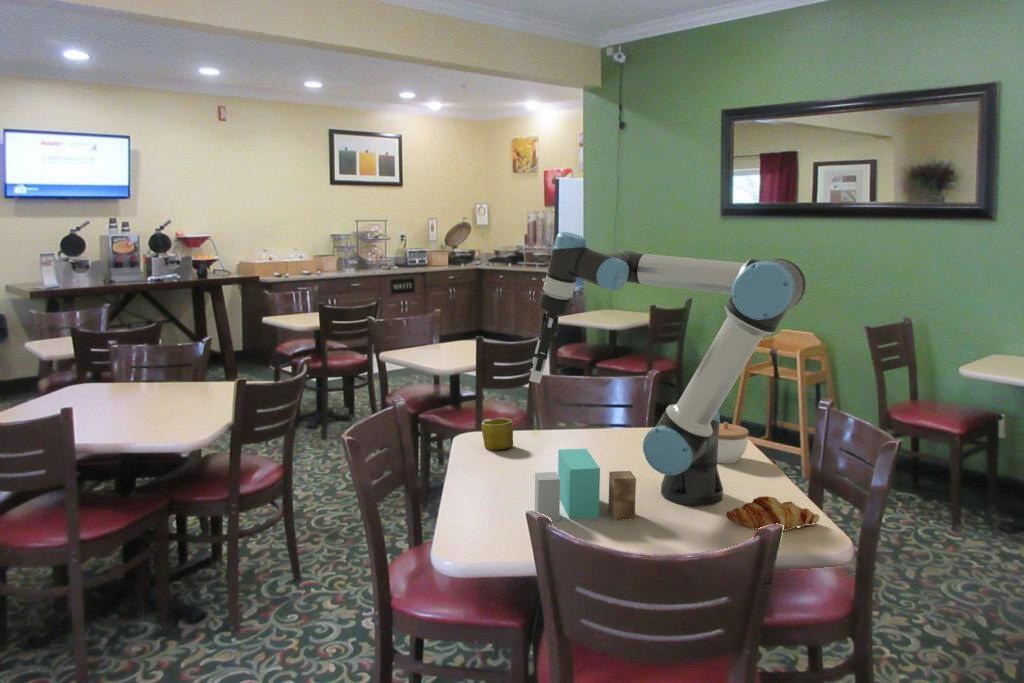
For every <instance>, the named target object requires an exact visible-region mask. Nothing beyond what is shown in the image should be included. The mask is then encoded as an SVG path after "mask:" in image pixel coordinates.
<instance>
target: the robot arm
mask: <svg viewBox="0 0 1024 683" xmlns="http://www.w3.org/2000/svg"><path fill="white" fill-rule="evenodd" d="M587 242H588V241H587V238H586V237H584V236H582V235H579V234H576V233H573V232H568V231H567V232H566V231H561V232H559V233H558V234H557V235H556V237H555V240H554V244H553V247H552V248H551V249H552V252H551V255H550V259H549V264H548V268H547V272H546V276H545V277H543V278H542V279H541V280H542V282H543V287H542V290H543V291H542V292H541V293H540V297H539V301H538V306H539V308H540V309H542V310H544V311H546V312H545V313H543V314H542V317H541V324H540V325H541V327H540V331H539V335H538V340H537V342H536V343H537V344H536V346H535V350H534V353H533V356H532V357H533V358H532V363H531V364H533V365H532V369H531V371H530V372H531V373H530V377H529V379H528V380H529V382H532V383H536V384H541V381H542V378H543V373H544V370H545V365H546V361H547V359H548V356H549V350H550V346H551V342H552V338H553V336H554V335H555V331H556V327H558V326H557V325H558V323H559V316H557V314H558V315H559V314H560V315H565V314H567V313H568V311H569V308H570V304H571V298H572V297H573V295H574V291H575V288H576V284H577V279H579V280H583V281H585V282H587V283H590V284H593V285H595V286H598V287H601V288H602V289H604V290H610V291H612V292H617V291H620V290H621V289H622V288H623V287H624V285H626V283H630V284H638V285H639V284H640V285H648V286H649V285H650V286H658V287H666V288H674V289H684V290H689V291H690V290H692V291H699V292H708V293H714V294H715V293H716V294H723V295H731V296H729V299H728V301H727V303H726V304H725V306H724V309H725V312H726V319H725V320H724V322H723V324H722V326H721V327H720V329H719V331H718V332H717V334H716V335H715V337H714V339H713V341H712V343H711V344H710V346H709V348H708V350H707V351H706V353H705V355H704V356H703V358H702V360H701V362H700V364H699V365H698V367H697V369H696V370H695V372H694V374H693V376H692V377H691V379H690V380H689V382H688V384H687V386H685V389H684V391H683V392H682V395H681V396H680V398H678V399H679V400H678V401H677V403H674V404H673V403H672V404H669V405H668V406H667V407H666V409H665V410H664V412H663V414H662V415H661V417H660V419H659V421H658V422H657V423H656V425H655V427H653V428H651V429H650V430H649V431H648V432H647V433H646V435H645V437H644V438H643V441H642V452H643V453H644V458H645V461H647V463H648V465H649V466H651V468H652V469H653V470H654V471H656V472H658V473H660V474H662V475H664V477H663V479H662V481H661V484H660V485H661V486H660V494H661V495H662V497H663V498H664V499H666V500H668V501H671V502H672V503H673V502H674V503H677V504H681V505H684V506H685V505H686V506H695V507H696V506H698V507H701V506H711V505H715V504H719V503H720V502H722V500H723V498H724V497H723V496H724V487H723V484H722V479H721V478H720V476H721V475H720V473H719V471H718V462H717V457H718V440H719V424H720V423H721V421H720V420H721V419H720V411H719V410H720V408H721V406H722V405H723V404H724V401H725V400H726V398H727V397H728V395H729V394H730V392H731V390H732V389H733V387H734V385H735V383H736V382H737V380H738V379H739V377H740V376H741V374H742V372H743V371H744V369H745V367H746V365H747V363H748V362H749V361H750V358H751V357H752V355H753V354H754V352H755V351H756V349H757V348H758V346H759V344H760V342H761V341H762V339H763V337H765V336H767V335H771V334H774V333H775V331H776V330H777V328H778V327H779V326H780V324H781V322H782V321H783V318H784V317H785V315H786V314H787V312H788V311H789V310H790V309H793V307H796V305H798V304H799V303H800V302H801V301H802V300H803V298H804V296H805V293H806V290H807V280H806V275H805V273H804V272H803V270H802V268H801V267H800V266H799V265H797V264H796V263H795V262H793V261H792V260H788V259H785V258H774V259H752V258H750V259H748V260H747V261H746V262H738V261H728V260H727V261H726V260H717V259H716V260H714V259H705V258H694V257H683V256H673V255H672V256H670V255H662V254H649V253H639V252H636V251H630V250H628V251H627V250H626V251H625V250H624V251H622V252H610V253H602V252H599V251H596V250H593V249H591V248H589V247H587Z"/></svg>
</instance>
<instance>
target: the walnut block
mask: <svg viewBox="0 0 1024 683" xmlns="http://www.w3.org/2000/svg"><path fill="white" fill-rule="evenodd" d="M608 474H609V477H608V479H609V480H608V507H607V508H608V510H607V512H608V514H609V515H610V517H611V519H612V521H628V519H633V520H635V517H636V488H637V486H636V485H637V477H636V476H635V475H634V473H632V471H631V470H620V471H619V470H618V471H609V472H608ZM623 519H624V520H623ZM625 519H627V520H625Z"/></svg>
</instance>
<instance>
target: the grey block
mask: <svg viewBox="0 0 1024 683" xmlns="http://www.w3.org/2000/svg"><path fill="white" fill-rule="evenodd" d="M534 473H535V474H534V512H535V511H536V512H539V513H541V514H544V515H546V516H548V517H549V518H551V520H552V521H551V522H559V521H560V512H561V510H560V508H561V506H560V505H561V501H560V478H559V476H558V471H557V472H556V471H552V472H551V471H548V472H545V471H544V472H534Z"/></svg>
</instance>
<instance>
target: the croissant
mask: <svg viewBox="0 0 1024 683" xmlns="http://www.w3.org/2000/svg"><path fill="white" fill-rule="evenodd" d="M726 518H727V519H728V520H729V521H732V522H733V523H734V524H735V523H736V524H738V525H741V526H742V527H745V528H748V529H750V528H754V529H755V528H757V529H755V530H759V529H758V528H760V527H763V526H766V525H769V524H776V523H778V524H782V525H784V530H785V529H786V531H788V530H787V529H790V528H793V527H796V526H803V525H806V524H812V523H815V524H817V523H818V522H819V520H820V515H819V514H818V513H816V514H815V513H814V512H812V511H811V510H810V509H809V508H806V507H805V508H801V507H800V506H798V505H796V504H795V503H794V502H793V501H791V500H790V501H784V502H780V501H779V499H778V498H776V497H772V496H764V495H763V496H758V497H756V498H753V500H752V501H751V502H747V503H745V504H743V506H742V507H736V508H734V509H732V510H729V511H728V510H727V511H726ZM816 522H817V523H816ZM806 526H807V525H806ZM803 527H804V526H803ZM754 529H753V530H754ZM793 529H794V528H793Z"/></svg>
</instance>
